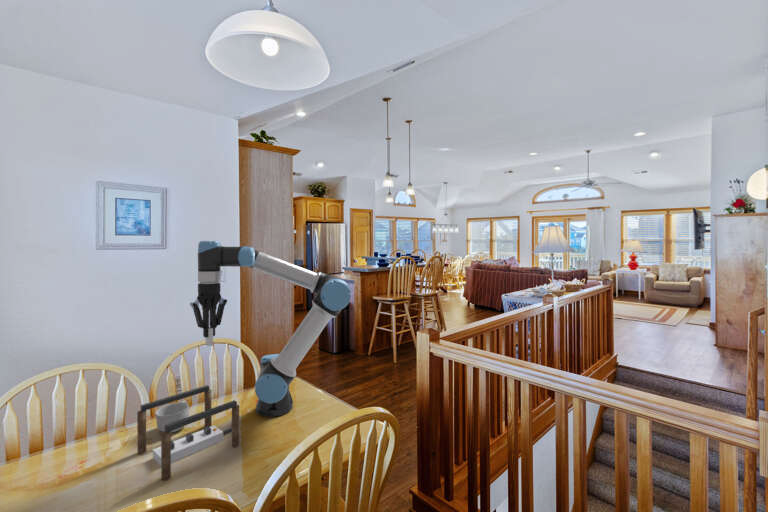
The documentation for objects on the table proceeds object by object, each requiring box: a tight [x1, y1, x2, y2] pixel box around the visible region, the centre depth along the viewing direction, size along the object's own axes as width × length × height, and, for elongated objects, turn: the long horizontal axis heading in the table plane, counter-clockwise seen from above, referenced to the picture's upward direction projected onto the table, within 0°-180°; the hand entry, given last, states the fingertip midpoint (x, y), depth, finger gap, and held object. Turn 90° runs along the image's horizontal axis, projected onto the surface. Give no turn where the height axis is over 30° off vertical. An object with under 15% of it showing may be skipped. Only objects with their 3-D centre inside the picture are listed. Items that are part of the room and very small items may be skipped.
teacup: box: [155, 400, 190, 434], centre depth 135 cm, size 14×11×8 cm
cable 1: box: [140, 384, 210, 411], centre depth 127 cm, size 22×2×2 cm, turn 142°
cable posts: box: [136, 388, 240, 482], centre depth 121 cm, size 24×22×14 cm
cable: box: [165, 399, 238, 432], centre depth 114 cm, size 22×2×2 cm, turn 142°
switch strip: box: [152, 425, 232, 468], centre depth 123 cm, size 26×7×5 cm, turn 142°
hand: (209, 345), depth 132 cm, fingers closed
